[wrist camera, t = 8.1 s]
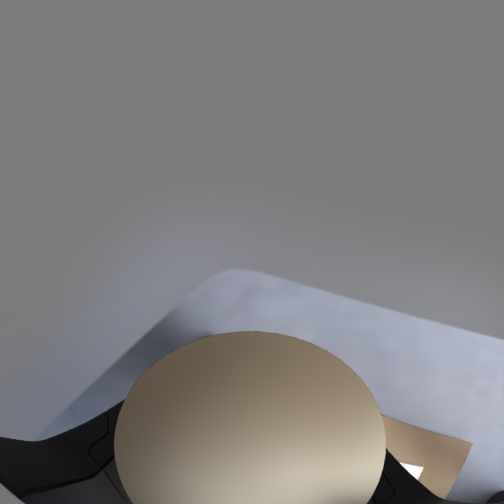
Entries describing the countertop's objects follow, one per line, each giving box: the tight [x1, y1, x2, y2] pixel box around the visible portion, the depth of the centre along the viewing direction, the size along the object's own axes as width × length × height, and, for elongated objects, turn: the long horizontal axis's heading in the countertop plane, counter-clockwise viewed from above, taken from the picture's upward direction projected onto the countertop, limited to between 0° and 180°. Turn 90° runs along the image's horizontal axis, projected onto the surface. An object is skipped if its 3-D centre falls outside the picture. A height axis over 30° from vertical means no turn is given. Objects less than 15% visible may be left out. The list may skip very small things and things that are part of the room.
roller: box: [114, 331, 386, 504], centre depth 8 cm, size 5×5×11 cm
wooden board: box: [381, 415, 473, 499], centre depth 12 cm, size 13×22×2 cm, turn 61°
